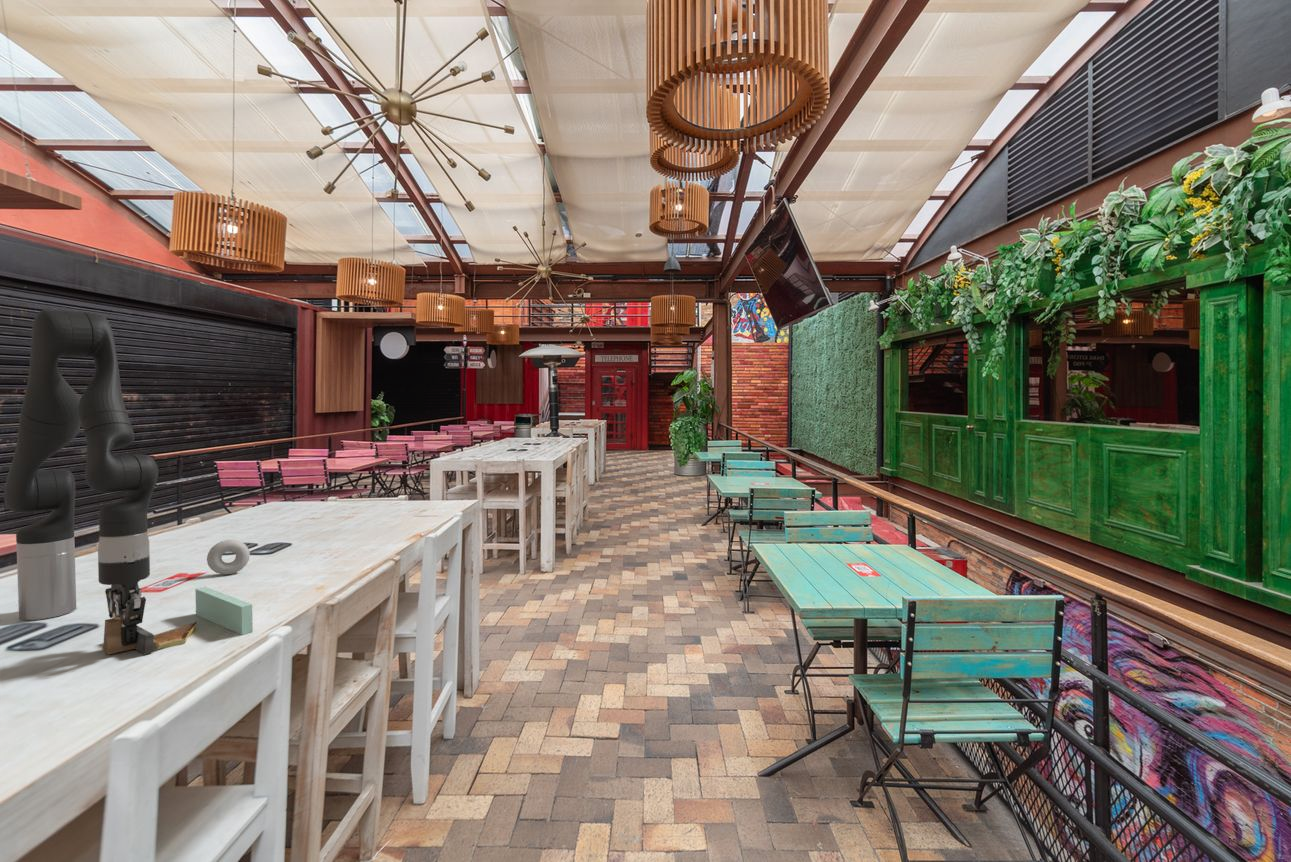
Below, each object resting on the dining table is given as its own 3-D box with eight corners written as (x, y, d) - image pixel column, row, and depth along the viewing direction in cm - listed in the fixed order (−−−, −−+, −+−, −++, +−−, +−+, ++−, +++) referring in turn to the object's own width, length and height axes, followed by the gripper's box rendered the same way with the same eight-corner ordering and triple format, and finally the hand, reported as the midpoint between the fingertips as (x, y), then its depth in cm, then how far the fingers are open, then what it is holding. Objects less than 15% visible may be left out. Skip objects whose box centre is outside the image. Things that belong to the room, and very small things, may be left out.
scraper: (94, 644, 115) (96, 614, 115) (128, 637, 119) (129, 608, 119) (117, 660, 108) (119, 628, 108) (152, 652, 112) (154, 621, 112)
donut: (250, 570, 169) (249, 536, 169) (250, 573, 166) (249, 538, 166) (207, 575, 163) (206, 540, 163) (206, 578, 160) (206, 543, 160)
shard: (196, 628, 126) (196, 620, 126) (219, 633, 123) (219, 625, 123) (138, 647, 116) (137, 638, 116) (161, 653, 113) (161, 644, 113)
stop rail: (196, 614, 133) (195, 588, 133) (206, 611, 135) (205, 586, 135) (242, 635, 122) (241, 607, 121) (252, 631, 123) (252, 604, 123)
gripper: (86, 554, 114) (88, 640, 114) (111, 566, 106) (113, 657, 107) (135, 547, 120) (136, 629, 121) (162, 557, 113) (163, 644, 113)
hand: (126, 642), depth 114 cm, fingers closed on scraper, 3 cm apart
